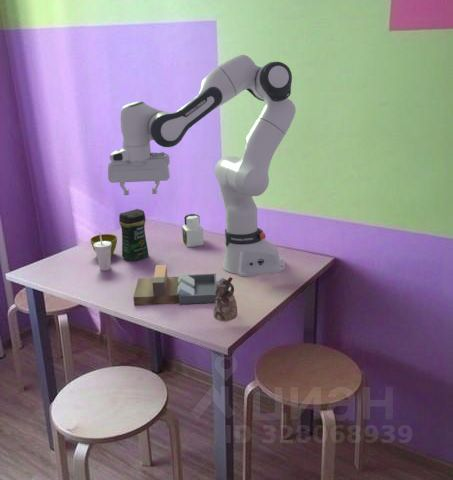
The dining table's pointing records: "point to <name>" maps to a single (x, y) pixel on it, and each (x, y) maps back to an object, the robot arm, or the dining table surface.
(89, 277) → the dining table surface
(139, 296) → the brown wooden square board
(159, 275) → the two-tone eraser block
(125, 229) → the coffee jar
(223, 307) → the figurine
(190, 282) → the tile
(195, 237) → the medicine bottle
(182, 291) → the tile
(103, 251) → the smoothie
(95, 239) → the flower pot
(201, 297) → the tray
